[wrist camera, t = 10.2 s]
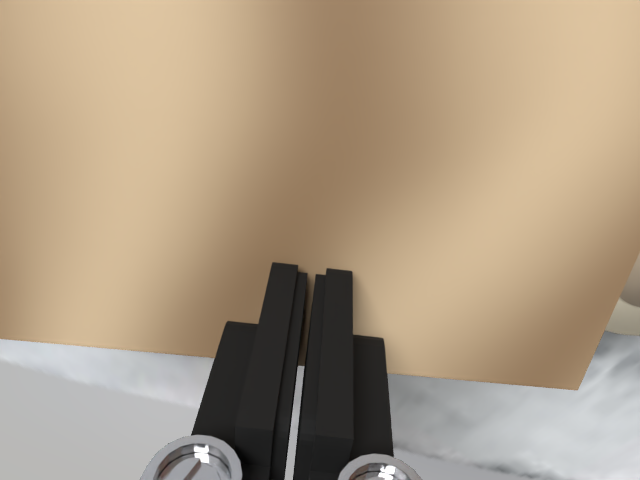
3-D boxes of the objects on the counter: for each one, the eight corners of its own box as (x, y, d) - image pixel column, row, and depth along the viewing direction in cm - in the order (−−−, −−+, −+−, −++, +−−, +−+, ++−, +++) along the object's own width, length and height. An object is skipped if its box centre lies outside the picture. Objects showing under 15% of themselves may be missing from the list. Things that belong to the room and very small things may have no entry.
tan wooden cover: (-45, 319, 12) (-60, 333, 11) (-165, -92, 8) (-194, -96, 8) (568, 374, 12) (577, 390, 12) (726, 9, 8) (748, 10, 8)
